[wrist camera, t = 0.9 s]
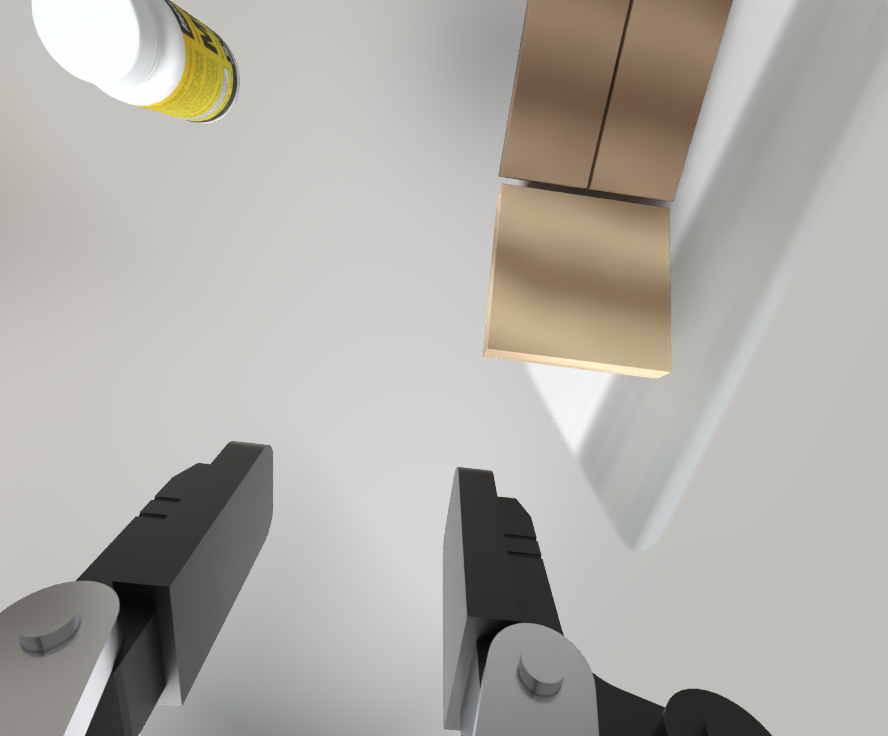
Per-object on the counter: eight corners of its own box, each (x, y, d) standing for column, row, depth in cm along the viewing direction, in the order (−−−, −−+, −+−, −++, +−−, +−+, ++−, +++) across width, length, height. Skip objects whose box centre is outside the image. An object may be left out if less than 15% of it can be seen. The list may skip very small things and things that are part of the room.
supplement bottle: (256, 59, 25) (170, -1, 17) (222, 142, 26) (128, 121, 18) (170, 1, 24) (37, -91, 16) (139, 90, 25) (3, 44, 17)
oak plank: (497, 199, 27) (502, 183, 26) (655, 222, 28) (669, 208, 26) (482, 356, 25) (487, 348, 23) (656, 378, 25) (671, 372, 24)
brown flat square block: (532, -31, 23) (539, -46, 22) (717, 1, 24) (736, -11, 22) (498, 176, 27) (501, 175, 25) (660, 200, 27) (673, 201, 26)
